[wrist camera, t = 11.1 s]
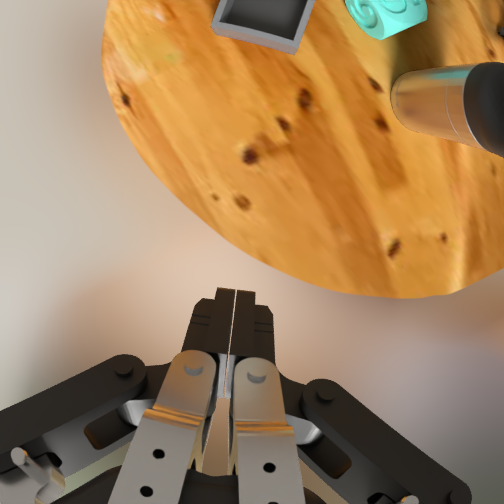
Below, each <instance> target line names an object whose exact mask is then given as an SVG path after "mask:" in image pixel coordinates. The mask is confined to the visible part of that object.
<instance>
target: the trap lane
mask: <svg viewBox="0 0 504 504" xmlns="http://www.w3.org/2000/svg"><path fill="white" fill-rule="evenodd" d="M314 2H315V0H220V3H219V5H218V8H217V10H216V13H215V16H214V18H213V21H212V23H211V28H212V29H213V31H214V33H215V34H216V35H219V36H224V37H229V38H234V39H238V40H242V41H246V42H250V43H254V44H258V45H262V46H265V47H269V48H272V49H276V50H279V51H282V52H286V53H289V54H292V55H294V54H295V53H296V51H297V49H298V47H299V44H300V42H301V39H302V36H303V33H304V30H305V27H306V24H307V22H308V19H309V16H310V13H311V10H312V8H313V5H314Z"/></svg>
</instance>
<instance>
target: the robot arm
mask: <svg viewBox="0 0 504 504" xmlns="http://www.w3.org/2000/svg"><path fill="white" fill-rule="evenodd" d="M391 103H392V108H393V111H394V113H395V115H396V117H397V118H398V120H399V121H400V122H401V123H402V124H403V125H404V126H405V127H406V128H408V129H410V130H412V131H415V132H419V133H423V134H427V135H431V136H435V137H439V138H443V139H447V140H451V141H455V142H458V143H462V144H466V145H469V146H472V147H476V148H479V149H482V150H486V151H489V152H491V153H494V154H497V155H499V156H501V157H503V158H504V63H500V62H486V63H474V64H464V65H454V66H446V67H438V68H431V69H424V70H417V71H411V72H407V73H404V74H402V75H401V76H399V77H398V79H397V80H396V81H395V83H394V85H393V87H392V91H391ZM234 299H235V289H227V288H217V291H216V295H215V300H213V299H205V298H202V299H201V300H200V301H199V302H198V303H197V304H196V305H195V307H194V310H193V313H192V317H191V320H190V324H189V326H188V330H187V333H186V337H185V340H184V343H183V347H182V350H181V353H179V354H177V355H176V356H175V357H174V359H173V360H172V362H170V363H167V364H164V365H155V366H145V365H144V363H143V362H142V360H140V359H139V358H138V357H136V356H133V355H127V354H122V355H117V356H114V357H112V358H110V359H108V360H106V361H104V362H102V363H100V364H98V365H96V366H94V367H92V368H90V369H88V370H86V371H84V372H82V373H80V374H78V375H76V376H74V377H71V378H69V379H67V380H65V381H63V382H61V383H59V384H57V385H55V386H53V387H51V388H49V389H47V390H44V391H42V392H40V393H38V394H36V395H34V396H32V397H30V398H27V399H25V400H23V401H21V402H19V403H17V404H15V405H12V406H10V407H8V408H6V409H3V410H2V411H0V503H1V504H326V503H325V502H324V501H323V500H322V499H321V498H320V497H319V496H317V495H316V494H315V493H314V492H312V491H310V490H309V489H307V488H305V487H303V484H302V478H301V472H300V465H299V459H298V457H299V458H300V459H301V460H302V461H303V462H304V463H305V464H306V465H307V466H309V468H310V469H311V470H313V471H314V472H315V473H316V474H317V475H318V476H319V477H320V478H321V479H322V480H323V481H324V482H325V483H327V484H328V485H329V486H330V487H331V488H332V489H333V490H334V491H335V492H336V493H338V494H339V495H340V496H341V497H342V498H343V499H344V500H346V501H347V502H348V503H349V504H471V500H472V495H471V491H470V489H469V487H468V486H467V484H466V483H464V482H463V481H462V480H460V479H459V478H457V477H456V476H455V475H453V474H452V473H450V472H449V471H448V470H446V469H445V468H444V467H442V466H441V465H440V464H438V463H437V462H436V461H434V460H433V459H431V458H430V457H429V456H428V455H426V454H425V453H424V452H422V451H421V450H420V449H418V448H417V447H416V446H414V445H413V444H412V443H411V442H409V441H408V440H407V439H405V438H404V437H403V436H401V435H400V434H399V433H398V432H397V431H395V430H394V429H393V428H391V427H390V426H389V425H388V424H386V423H385V422H384V421H383V420H381V419H380V418H379V417H378V416H376V415H375V414H374V413H373V412H371V411H370V410H369V409H368V408H366V407H365V406H364V405H363V404H362V403H360V402H359V401H358V400H357V399H356V398H354V397H353V396H352V395H351V394H349V393H348V392H347V391H346V390H345V389H343V388H342V387H341V386H340V385H339V384H337V383H336V382H334V381H331V380H328V379H315V380H312V381H310V382H309V383H308V384H307V385H304V384H300V383H297V382H294V381H292V380H289V379H288V378H286V377H284V376H283V375H282V374H281V373H280V372H279V371H278V369H277V367H276V364H275V348H274V328H273V327H274V326H273V314H272V312H271V311H270V309H269V308H268V306H264V305H255V292H252V291H244V290H237V296H236V303H235V312H234V320H233V329H232V337H231V345H230V353H229V363H228V372H227V381H226V391H225V398H229V399H230V408H229V416H228V457H229V458H228V475H226V476H214V477H213V476H209V475H206V474H203V473H201V471H202V463H203V457H204V452H205V448H206V444H207V439H208V436H209V431H210V427H211V423H212V418H213V413H214V411H215V408H216V401H217V397H220V398H223V392H224V384H225V375H226V367H227V359H228V351H229V343H230V334H231V326H232V317H233V308H234ZM131 440H132V442H131V445H130V447H129V450H128V452H127V455H126V457H125V460H124V462H123V465H120V466H117V467H114V468H111V469H109V470H107V471H105V472H104V473H102V474H100V475H99V476H97V477H95V478H94V479H92V480H90V481H89V482H87V483H85V484H84V485H82V486H80V487H79V488H77V489H75V490H74V491H72V492H70V493H68V494H66V495H65V496H63V497H61V498H59V499H57V500H55V499H56V498H58V497H59V496H60V495H62V493H63V491H64V489H65V478H66V477H68V476H70V475H72V474H74V473H76V472H77V471H79V470H81V469H83V468H85V467H87V466H88V465H90V464H92V463H94V462H96V461H98V460H99V459H101V458H103V457H104V456H106V455H108V454H110V453H111V452H113V451H115V450H117V449H118V448H120V447H122V446H123V445H125V444H127V443H128V442H130V441H131ZM54 500H55V501H54ZM53 501H54V502H53Z"/></svg>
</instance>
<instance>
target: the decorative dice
mask: <svg viewBox="0 0 504 504" xmlns="http://www.w3.org/2000/svg"><path fill="white" fill-rule="evenodd" d="M345 3H346V6H347V9H348V11H349V13H350V14H351V16H352V18H353V19H354V20H355V22H356V23H357V24H358V26H359V27H360V28H361V29H362V30H363V31H364V32H366V33H367V34H368V35H369V36H371V37H373V38H376V39H378V40H383V39H385V38H387V37H390V36H392V35H394V34H396V33H398V32H400V31H403V30H405V29H407V28H409V27H412V26H414V25H416V24H419V23H421V22H423V21H426V20H427V16H428V10H427V4H426V1H425V0H345Z"/></svg>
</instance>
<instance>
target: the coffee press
mask: <svg viewBox="0 0 504 504" xmlns="http://www.w3.org/2000/svg"><path fill="white" fill-rule="evenodd" d="M498 34H499V35H500V36H502V37H504V27H499V30H498Z"/></svg>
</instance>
